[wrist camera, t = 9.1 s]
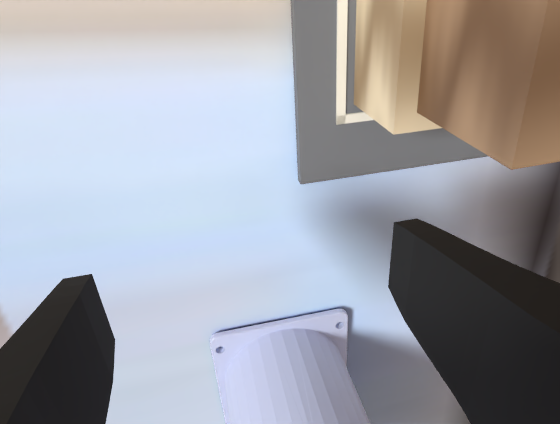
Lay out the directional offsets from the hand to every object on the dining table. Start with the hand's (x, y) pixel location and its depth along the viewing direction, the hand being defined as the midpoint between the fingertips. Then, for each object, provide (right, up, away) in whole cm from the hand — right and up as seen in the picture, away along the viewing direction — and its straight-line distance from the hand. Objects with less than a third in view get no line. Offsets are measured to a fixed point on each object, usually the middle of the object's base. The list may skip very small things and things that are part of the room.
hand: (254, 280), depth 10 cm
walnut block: (+7, +7, +4) cm, 11 cm away
